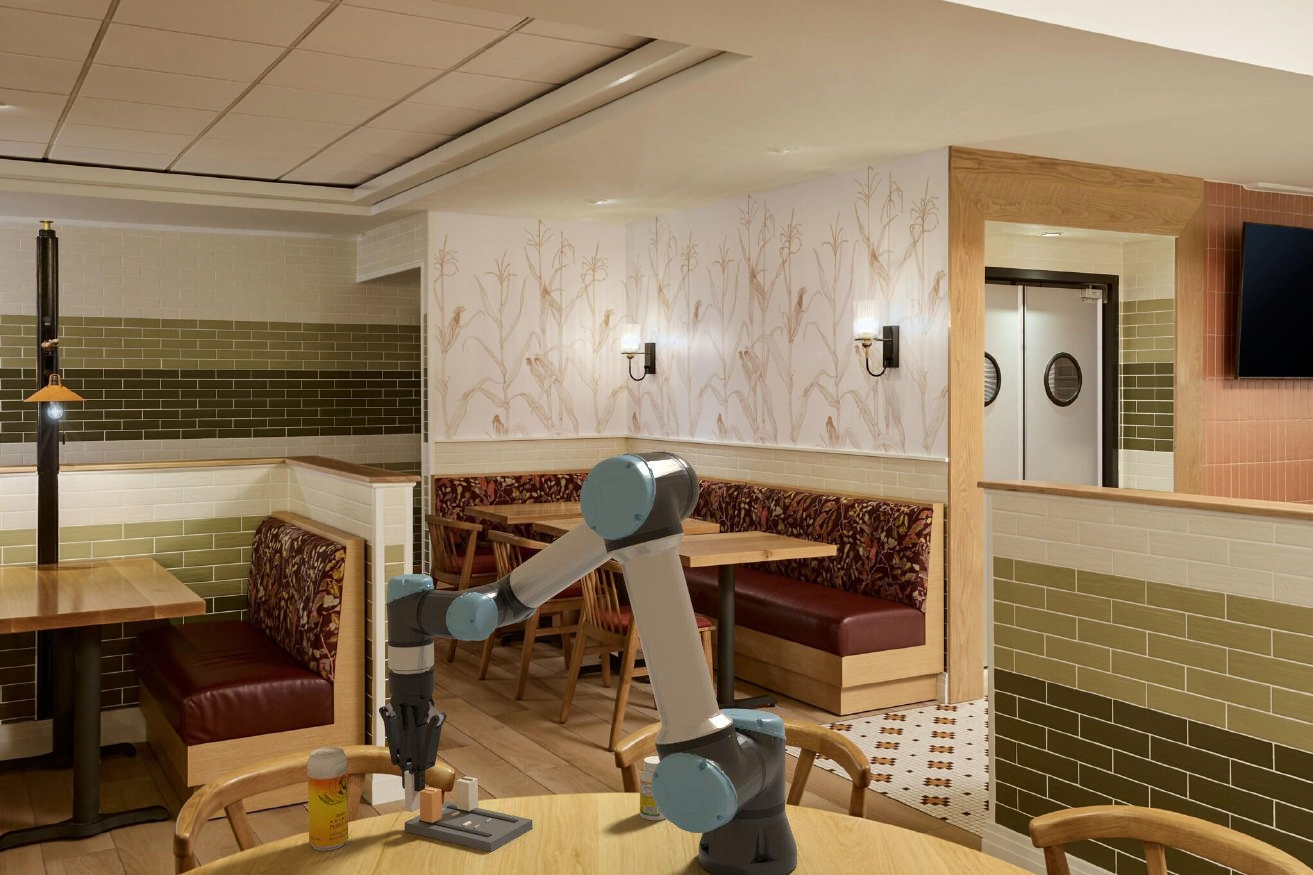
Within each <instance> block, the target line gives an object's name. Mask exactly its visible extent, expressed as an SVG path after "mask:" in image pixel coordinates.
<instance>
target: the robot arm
mask: <svg viewBox="0 0 1313 875" xmlns="http://www.w3.org/2000/svg"><path fill="white" fill-rule="evenodd" d="M699 497H700V481H699V478H698V475H697V473H696V471H695V469H694V468H693V466H692V465H691V464H690V463H689V462H688V461H687V460H686V459H685V458H683V457H682V456H680V455H678V454H676V453H673V452H669V451H652V452H638V453H623V454H618V455H615V456H612V457H607V458H605V459H603V460H601V461H600V462H598V463H597V464H596V465H594V466H593V467H592V468H591V469H590V471H589V472H588V474H587V476H586V477H585V480H584V481H583V483H582V486H581V490H580V496H579V501H580V502H579V503H580V504H579V505H580V511H581V515H582V518H583V521H582V522H581V523H579V524H578V525H576V526H574V527H573V528H572V529H570V530H569V531H567V532H566V533H565V534H563V535H562V536H560V537H559V538H557V539H556V540H555V541H553V542H551V543H550V544H549V545H548V546H546V547H545V548H543V549H541V551H538V552H537V553H536V554H535V555H533V556H532V557H530V558H529V559H527V560H526V561H525V562H523V563H521V564H520V565H519V566H517V567H516V568H514V569H513V570H512V571H511V572H509V573H507V574H506V575H505V576H503V577H502V578H500V579H498V580H497V581H495V582H491V583H486V584H483V585H480V586H475V587H471V588H467V589H461V590H458V591H457V590H456V591H452V590H439V589H435V586H434V581H433V577H432V576H430V575H428V574H421V573H409V574H401V575H399V574H398V575H395V576H393V577H391V578H390V579H389V580H388V582H387V586H386V588H387V589H386V601H385V605H386V616H387V617H386V619H387V620H386V621H387V667H388V668H389V672H388V677H387V679H388V692H389V693H390V694H391V697H390V698H389V703H388V704H386V705H384V706H380V707H379V708H378V713H379V715H380V718H382V719H381V720H382V721H383V725H384V731H385V737H386V741H387V746H388V751H389V754H390V755H389V756H390V761H391V764H392V765H393V766H398V767H399V769H400V770H401V787H402V789H404V805H405V806H404V808H405V809H404V810H405V812H410V813H413V812H416V811H418V810H420V791H421V790H424V789H425V788H426V771H427V770H429V769H431V768H434V767H435V766H436V761H437V755H438V750H439V744H440V738H441V734H442V728H443V724H444V723H445V722H446V719H447V714H446V713H445V712H439V711H438V710H437V709H436V707H435V705H436V704H435V701H434V699H433V693H434V691H435V689H436V688H435V687H436V686H435V685H436V679H435V678H436V676H435V674H436V671H435V669H434V668H433V666H434V665H435V642H434V641H435V638H434V637H437V638H445V639H451V640H452V639H453V640H459V641H463V642H470V641H474V642H475V641H477V642H479V641H485V640H487V639H488V638H489V637H490V635H491V634H492V633H494V631H495V629H498V628H501V627H504V626H509V625H513V624H518V623H521V622H523V621H525V620H526V619H527V620H528V619H529V618H531V617H532V616H533V615H534V614H535V613H536V612H537V610H538V608H539V607H540V606H541V605H543V604H545V602H547V601H549V600H550V599H552V598H553V597H555V596H556V595H558V594H559V593H561V592H562V591H564V590H565V589H567V588H568V587H570V586H571V585H573V584H575V583H576V582H577V581H579V580H580V579H582V578H584V577H585V576H587V575H588V574H590V573H591V572H593V571H594V570H596V569H597V568H599V567H600V566H602V565H603V564H606V563H607V561H609V560H611V559H614V561H617V562H618V563H619V564H620V568H621V571H622V574H623V575H622V576H623V579H624V583H625V587H626V591H627V594H628V599H629V602H630V606H631V610H632V615H633V618H634V621H635V626H636V630H637V634H638V637H639V641H640V645H641V649H642V654H643V657H644V658H643V659H644V662H645V666H646V668H647V674H648V677H649V681H650V686H651V688H652V693H653V697H654V701H655V704H656V709H657V712H658V716H659V721H660V729H659V730H658V732H657V734H656V736H655V738H654V744H655V748H656V752H657V756H658V757H659V761H660V762H659V763H658V764H657V766H656V769H655V772H654V774H653V776H652V782H651V788H652V794H653V798H654V801H655V803H656V805H657V807H658V809H659V810H660V812H661V813H662V815H663V816H664V817H665V818H666V820H667V821H668V822H669V823H672V824H673V825H674V826H676V827H677V828H679V829H680V830H682V831H683V832H684V831H685V832H688V833H692V834H701V836H700V839H699V842H698V863H699V865H700V866H701V868H702V869H703V870H705V871H706V872H708V873H710V874H712V875H787V874H789V873H791V872H793V871H794V870H795V868H797V866H798V848H797V843H796V840H795V837H794V835H793V831H792V827H791V824H790V822H789V818H788V815H787V812H786V741H787V736H786V730H785V729H786V728H785V722H784V719H783V718H781V717H780V716H779V715H778V714H775V713H772V712H769V711H768V712H767V711H763V710H758V709H748V708H747V709H746V708H723V709H720V708H719V705H718V701H717V697H716V692H715V689H714V685H713V682H712V678H711V674H710V670H709V666H708V663H707V658H706V655H705V651H704V647H703V646H704V645H703V644H702V639H701V635H700V632H699V628H698V627H699V626H698V623H697V619H696V616H695V612H694V608H693V604H692V601H691V597H690V596H691V595H690V593H689V588H688V585H687V580H686V577H685V574H684V569H683V565H682V561H681V558H680V553H679V551H678V550H679V546H680V543H681V542H682V540H683V539H684V537H685V532H684V528H683V523H682V522H684V521H685V520H686V519H688V518H689V517H690V515H691V514H692V513H693V511H694V510H695V508H696V506H697V504H698V502H699Z"/></svg>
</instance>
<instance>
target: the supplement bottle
mask: <svg viewBox="0 0 1313 875" xmlns="http://www.w3.org/2000/svg"><path fill="white" fill-rule="evenodd" d="M659 762H660V761H659V757H658V755H655V756H648V757H645V758H644V759H643V768H644V769H643V771H641V773H640V774H639V814H640V817H642V818H643V819H644V820H648V821H662V820H665V819H666V818H665V817H664V816H663V815H662V813H661V812H660V810H659V809H658V807H657V805H656V803H655V801H654V798H653V794H652V788H651V782H652V776H653V774H654V772H655V769H656V766H657V764H658V763H659ZM666 820H667V819H666Z"/></svg>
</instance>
